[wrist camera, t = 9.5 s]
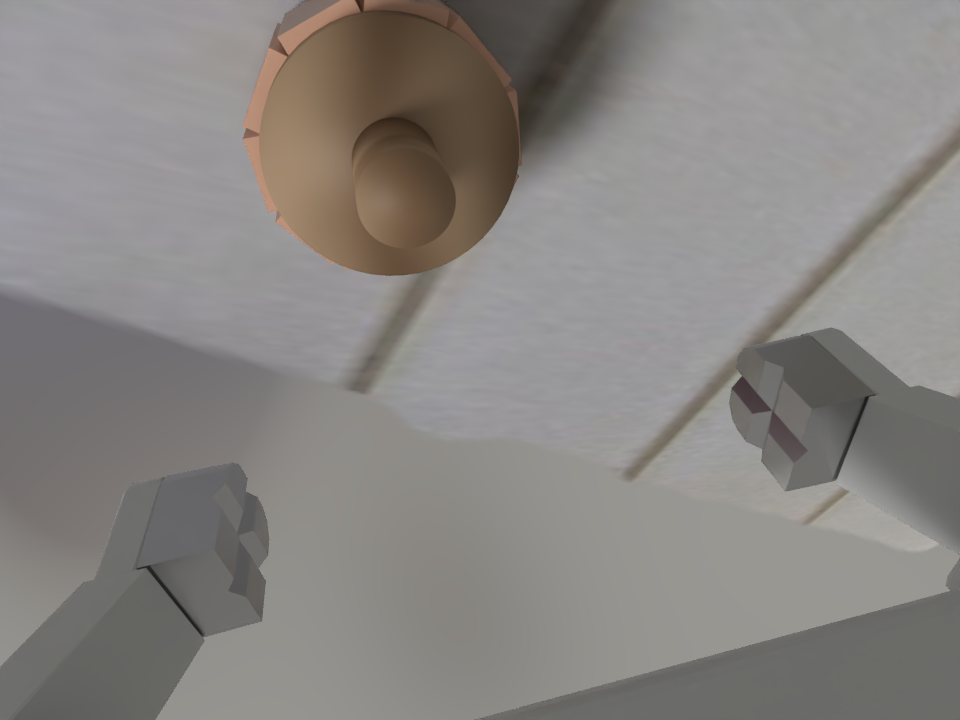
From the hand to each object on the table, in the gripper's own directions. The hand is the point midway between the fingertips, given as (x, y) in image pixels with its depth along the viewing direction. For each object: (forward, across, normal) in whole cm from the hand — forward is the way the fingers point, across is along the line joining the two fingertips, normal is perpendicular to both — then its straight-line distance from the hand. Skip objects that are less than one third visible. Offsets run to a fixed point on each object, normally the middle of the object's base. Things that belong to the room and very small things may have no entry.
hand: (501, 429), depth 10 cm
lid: (+17, 0, +1) cm, 17 cm away
